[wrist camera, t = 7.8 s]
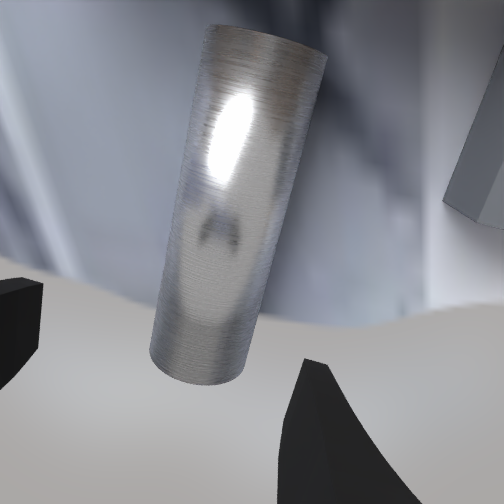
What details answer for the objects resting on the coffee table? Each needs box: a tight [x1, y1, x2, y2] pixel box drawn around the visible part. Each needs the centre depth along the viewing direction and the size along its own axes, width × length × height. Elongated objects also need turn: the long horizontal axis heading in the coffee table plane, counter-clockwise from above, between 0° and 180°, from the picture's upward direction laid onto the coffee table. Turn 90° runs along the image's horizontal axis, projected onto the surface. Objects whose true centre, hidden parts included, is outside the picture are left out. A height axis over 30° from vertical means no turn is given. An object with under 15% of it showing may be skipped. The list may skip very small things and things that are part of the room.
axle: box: [149, 24, 327, 385], centre depth 16 cm, size 12×4×4 cm, turn 167°
